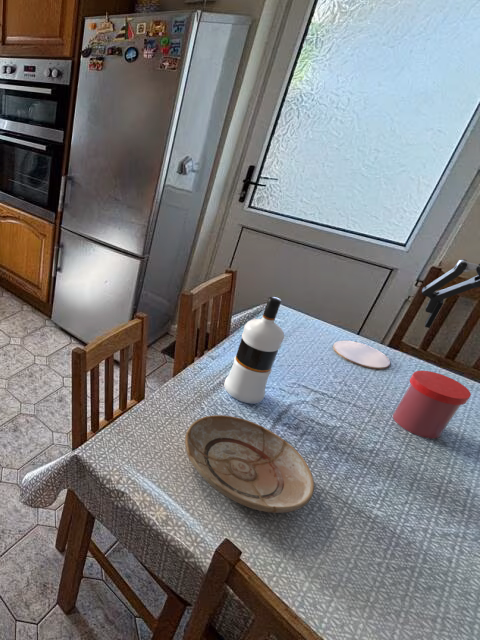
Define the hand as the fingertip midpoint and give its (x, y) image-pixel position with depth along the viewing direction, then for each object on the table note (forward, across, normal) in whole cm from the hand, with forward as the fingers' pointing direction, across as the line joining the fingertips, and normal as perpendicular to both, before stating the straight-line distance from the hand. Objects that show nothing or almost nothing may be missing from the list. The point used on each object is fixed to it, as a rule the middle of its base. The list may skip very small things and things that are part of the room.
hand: (468, 337), depth 90 cm
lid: (+14, 0, 0) cm, 14 cm away
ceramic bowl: (+27, +26, +45) cm, 58 cm away
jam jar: (+26, 0, 0) cm, 26 cm away
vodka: (+27, +33, +18) cm, 46 cm away
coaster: (+26, +13, -25) cm, 38 cm away
